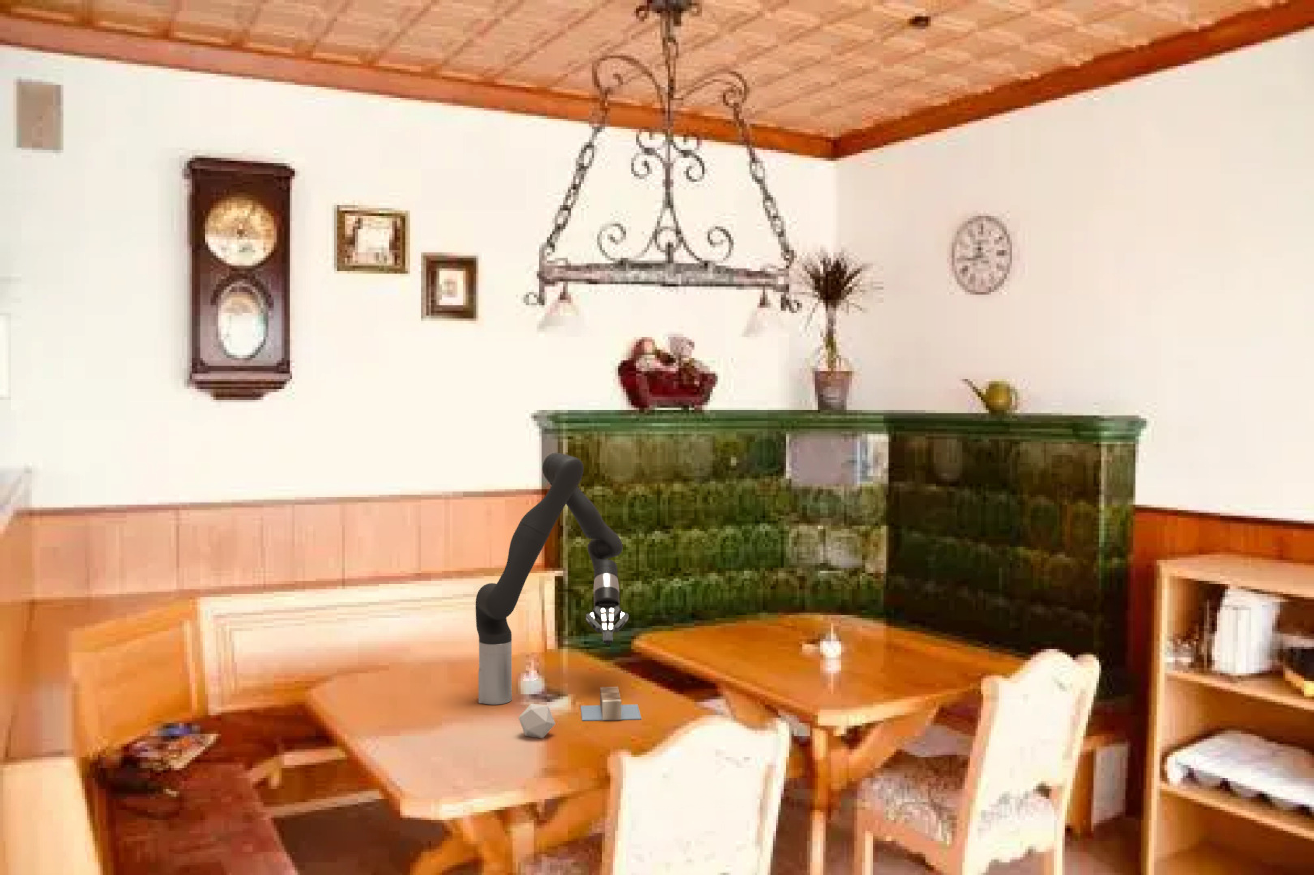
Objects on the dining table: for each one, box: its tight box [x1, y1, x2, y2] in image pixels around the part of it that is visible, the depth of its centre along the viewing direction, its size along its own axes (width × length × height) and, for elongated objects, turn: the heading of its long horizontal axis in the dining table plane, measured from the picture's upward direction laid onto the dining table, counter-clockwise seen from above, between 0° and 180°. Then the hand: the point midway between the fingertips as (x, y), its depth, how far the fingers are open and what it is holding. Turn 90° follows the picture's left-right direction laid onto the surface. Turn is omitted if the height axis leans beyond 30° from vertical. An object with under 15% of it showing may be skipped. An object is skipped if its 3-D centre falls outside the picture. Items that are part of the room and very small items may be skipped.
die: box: [518, 703, 556, 739], centre depth 294 cm, size 8×9×10 cm
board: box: [580, 703, 642, 722], centre depth 313 cm, size 16×13×1 cm
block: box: [599, 686, 622, 721], centre depth 313 cm, size 5×5×14 cm
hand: (608, 643), depth 325 cm, fingers closed
